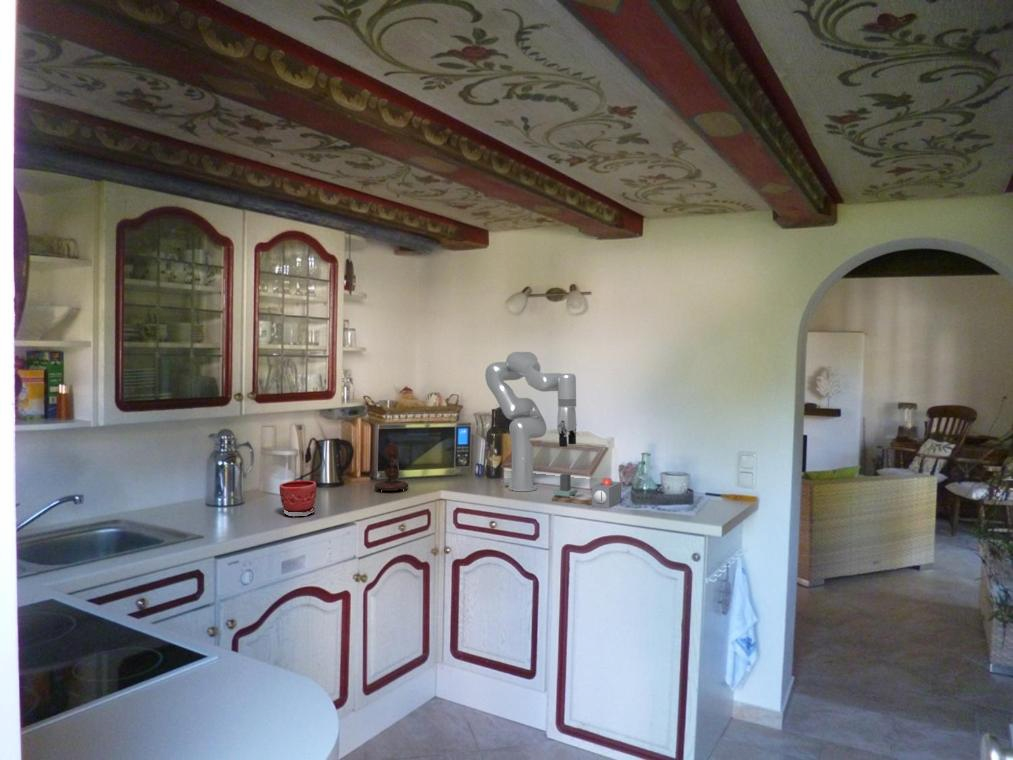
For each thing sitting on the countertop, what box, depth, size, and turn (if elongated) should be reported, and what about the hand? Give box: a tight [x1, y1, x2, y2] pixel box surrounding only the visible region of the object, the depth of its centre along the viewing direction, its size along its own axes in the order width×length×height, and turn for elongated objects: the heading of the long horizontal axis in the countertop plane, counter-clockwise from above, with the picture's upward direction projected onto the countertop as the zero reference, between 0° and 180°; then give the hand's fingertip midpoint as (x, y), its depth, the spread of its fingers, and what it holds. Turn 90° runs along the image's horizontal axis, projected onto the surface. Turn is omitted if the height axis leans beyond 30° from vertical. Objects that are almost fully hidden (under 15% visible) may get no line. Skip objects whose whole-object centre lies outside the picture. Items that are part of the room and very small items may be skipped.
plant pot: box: [279, 479, 317, 513], centre depth 268 cm, size 13×13×12 cm
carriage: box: [552, 473, 578, 496], centre depth 296 cm, size 7×8×8 cm
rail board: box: [551, 493, 592, 506], centre depth 293 cm, size 18×9×2 cm, turn 62°
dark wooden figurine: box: [374, 443, 409, 491], centre depth 315 cm, size 15×15×20 cm
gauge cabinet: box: [591, 481, 622, 509], centre depth 287 cm, size 7×15×8 cm, turn 152°
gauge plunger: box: [601, 477, 613, 486], centre depth 287 cm, size 4×4×5 cm
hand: (567, 445), depth 296 cm, fingers open, 9 cm apart
